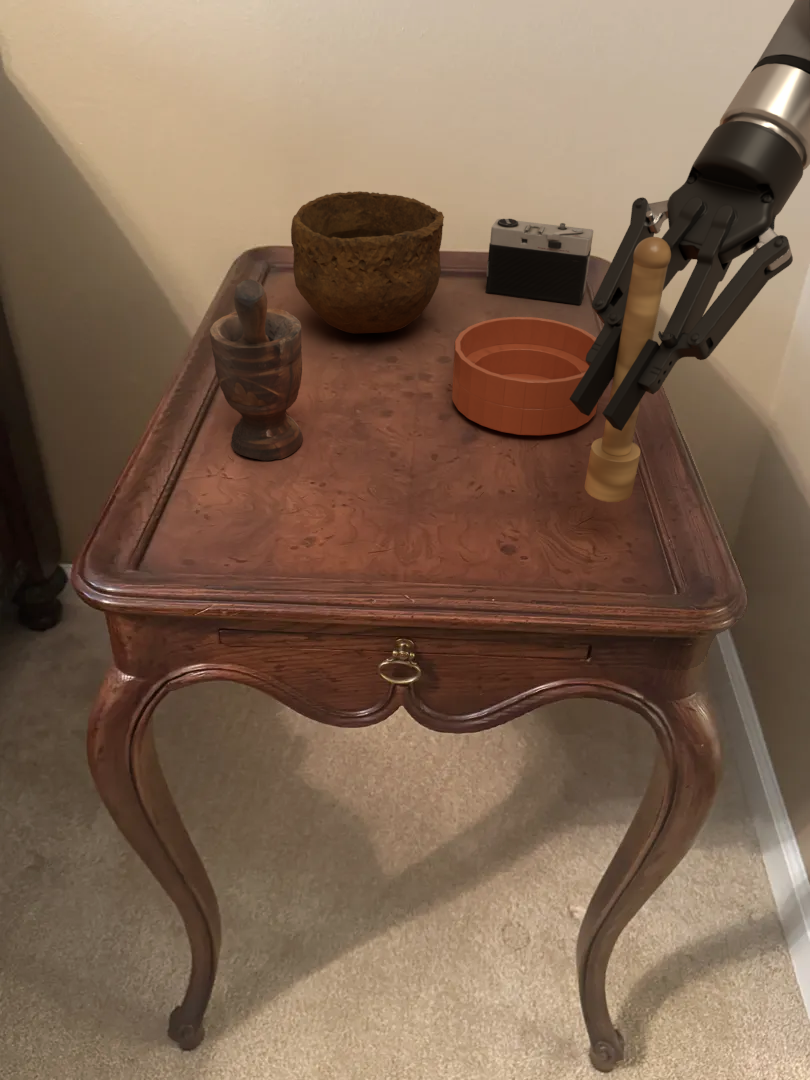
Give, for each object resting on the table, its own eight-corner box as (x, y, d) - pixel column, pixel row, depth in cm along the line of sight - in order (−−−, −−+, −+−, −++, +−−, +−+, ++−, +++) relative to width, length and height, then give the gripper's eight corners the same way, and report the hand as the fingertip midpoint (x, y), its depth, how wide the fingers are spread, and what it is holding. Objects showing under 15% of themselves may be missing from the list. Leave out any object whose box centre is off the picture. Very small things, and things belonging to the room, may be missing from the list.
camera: (594, 286, 128) (604, 217, 121) (577, 312, 121) (586, 240, 115) (504, 271, 132) (508, 203, 126) (482, 294, 126) (486, 224, 120)
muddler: (634, 480, 76) (685, 232, 63) (630, 506, 73) (683, 250, 60) (587, 472, 77) (629, 226, 64) (581, 497, 74) (624, 243, 61)
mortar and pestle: (332, 468, 89) (325, 274, 76) (251, 490, 85) (229, 290, 73) (289, 417, 97) (276, 233, 85) (213, 434, 93) (188, 246, 81)
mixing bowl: (603, 383, 104) (613, 327, 100) (586, 452, 92) (596, 392, 88) (469, 363, 108) (473, 309, 104) (435, 427, 95) (438, 368, 91)
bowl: (453, 355, 109) (460, 234, 100) (301, 363, 107) (294, 240, 98) (427, 297, 124) (431, 186, 115) (292, 303, 122) (285, 190, 113)
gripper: (864, 202, 66) (694, 472, 66) (683, 160, 74) (535, 399, 75) (856, 136, 60) (669, 434, 60) (660, 99, 68) (499, 359, 69)
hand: (595, 414), depth 68 cm, fingers closed on muddler, 2 cm apart
